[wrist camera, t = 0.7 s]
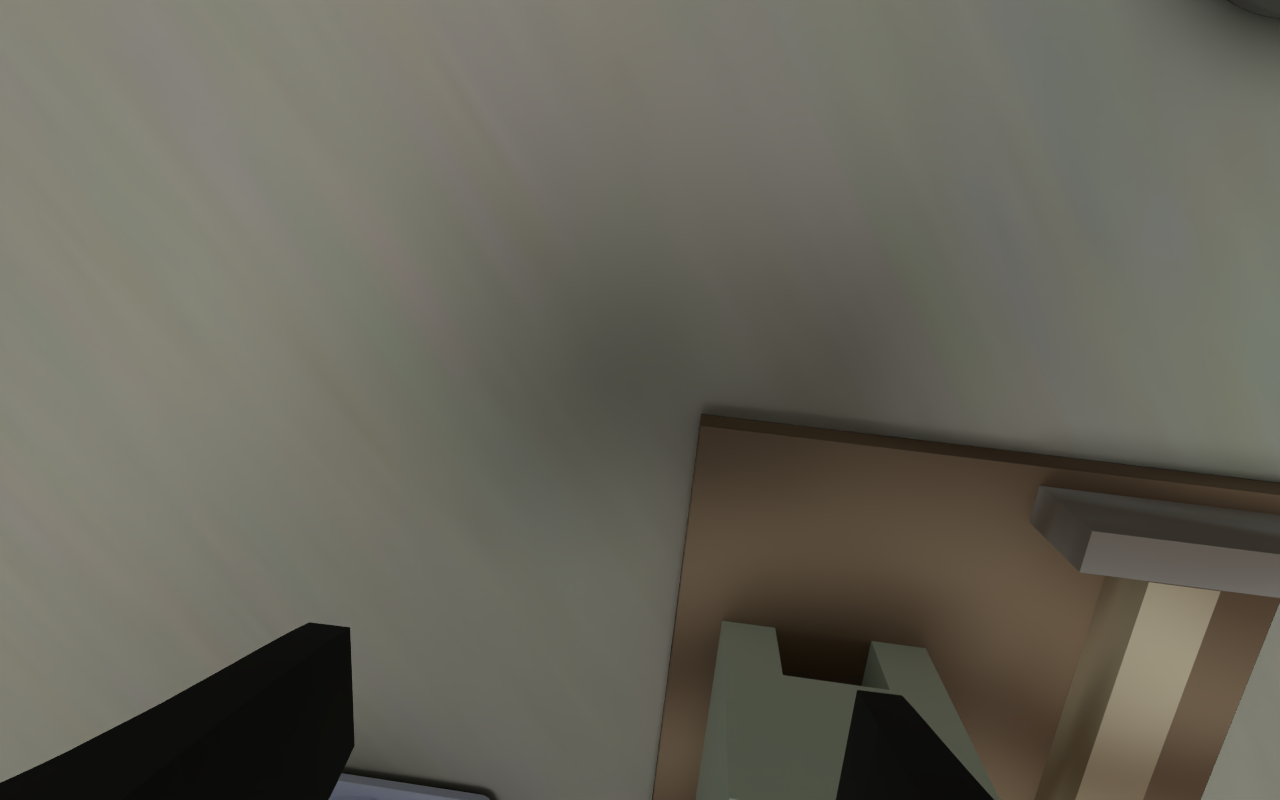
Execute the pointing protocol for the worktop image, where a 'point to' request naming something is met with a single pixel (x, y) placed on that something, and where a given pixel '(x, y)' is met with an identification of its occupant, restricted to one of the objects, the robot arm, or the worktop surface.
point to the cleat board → (984, 597)
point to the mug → (1260, 6)
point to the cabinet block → (806, 719)
